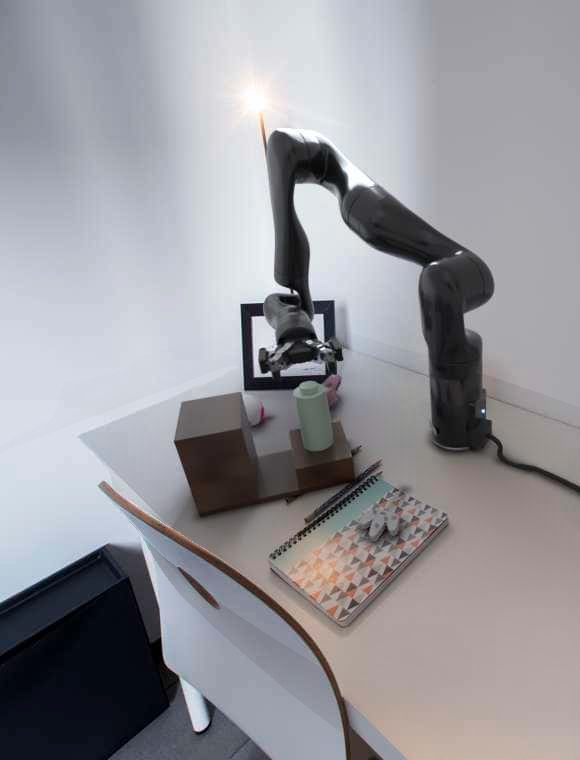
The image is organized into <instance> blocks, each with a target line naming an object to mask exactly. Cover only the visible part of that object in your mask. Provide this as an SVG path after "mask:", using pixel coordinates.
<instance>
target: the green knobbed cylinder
mask: <svg viewBox="0 0 580 760" xmlns="http://www.w3.org/2000/svg"><path fill="white" fill-rule="evenodd" d="M321 384H322V383H318V382H317V381H316V380H315V381H314V380H307V381H303V382H301V383H300V384H299V386H297V387H295V389H293V393H292V395H293V399H294V404H295V408H296V409H295V410H296V414H297V419H298V424H299V429H300V430H301V435H302V440H303V445H304V447H305V449H307V450H309V451H322V450H325V449H327V448H329V447H330V446H332V444H333V443H334V437H333V431H332V425H331V422H332V420H331V414H330V413H331V412H330V408H329V407H328V401H327V395H326V389H325V387H324V386H323V385H321Z"/></svg>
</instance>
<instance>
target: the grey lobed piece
mask: <svg viewBox="0 0 580 760" xmlns="http://www.w3.org/2000/svg"><path fill="white" fill-rule="evenodd" d="M404 490H405V488H404V487H402V488H401V489H400V490H399V492H398V494H397V497H396V498H395V500H392V501H391V502H390V503H389V504H388V507H387V509H386V510H385V509H380V508H379V509H378V508H373V509H368V510H366V511H365V512H364V513H363V515H362V516H361V518H359V525H360V527H361V529H362V530H367V529H368V528H369V532H368V535H369V538H370V539H369V540H370V541H371V542H372V543H373V542H376V541H378V540H379V538H380V537H381V535H382V534H383V532H384V531H385V530H386V527H387V530H388V533H389V535H390V536H397V534H398V532H399V528H400V518H399V516H398V515H397V514H396V513H394V512H392V511H390V510H389V508H390V506H391V505H392V504H393V503H395V502H396V501H397V500H398V498H399V496H400V494H401V491H404Z"/></svg>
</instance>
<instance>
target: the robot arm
mask: <svg viewBox="0 0 580 760" xmlns="http://www.w3.org/2000/svg"><path fill="white" fill-rule="evenodd" d="M266 142H267V143H266V153H265V156H266V158H265V159H266V170H267V181H268V189H269V198H270V205H271V212H272V213H271V214H272V221H273V229H274V254H273V255H274V257H273V279H274V281H275V283H276V284H277V285H278V286H281V287H283V288H286V289H289V290H292V291H294V292H296V293H288V292H287V293H286V292H285V293H283V292H272V293H270V294H268V295H267V296H266V297H265V299H264V301H263V305H262V310H263V311H262V312H263V315H264V316H263V317H264V318H265V321H266V323H267V324H268V325H269V326H270V327H271V328H272V329H273V330H274V336H275V343H276V347H275V348H274V350H269V349H267V348H266V347H260V348H258V357H257V361H258V366H259V370H260V374H261V375H266V374H268V373H269V372H270V373H271V378H272V379H273V380H276V381H277V382H282V381H283V380H282V373H281V371H287V370H288V369H290V368H291V367H292V366H294V365H300V364H305V363H311V362H312V363H314V364H317V365H322V364H326V368H327V371H328V373H329V374H330V373H331V374H332V373H334V370H337V363H336V362H343V361H344V355H343V354H344V353H343V346H342V345H341V343H340V342H339V340H338V338H337V337H336V336H331V337H329V340H327V341H326V342H322V341H321V340H319V338H318V335H317V332H316V330H315V327H314V325H313V323H312V322H313V321H314V318H315V306H314V302H313V299H312V295H311V289H310V262H311V245H310V241H309V238H308V235H307V233H306V231H305V229H304V226H303V225H302V222H301V220H300V218H299V216H298V213H297V211H296V206H295V188H296V185H317V186H320V187H322V188H324V189H325V190H327V191H328V192H329V193H331V194H332V195H333V196H334V197H335V198H336V200H337V206H338V211H339V214H340V217H341V220H342V221H343V223H344V225H345V226H346V227H347V228H348V229H349V230H350V231H351V232H352V233H353V234H354V235H355V236H357V237H358V238H359V239H360V240H361V241H362V242H363V243H365V244H366V245H367V246H369V247H370V248H372V249H374V250H376V251H378V252H380V253H383V254H384V255H387V256H391V257H394V258H397V259H400V260H402V261H406V262H409V263H412V264H414V265H417V266H419V267H421V268H422V269H421V271H420V272H419V276H418V280H417V281H418V283H417V297H418V305H419V313H420V325H421V332H422V336H423V339H424V342H425V344H426V347H427V359H428V361H427V362H428V379H429V381H428V382H429V397H430V416H431V417H430V418H431V420H429V421H428V422H429V427H430V429H431V441H432V442H433V444H434V445H435V446H436V447H438V448H439V449H442V450H444V451H449V452H465V451H477V449H483V450H484V449H485V448H486V445H487V444H488V442H489V441H492V442H493V443H494V444H495V445H496V446H497V450H496V455H497V457H498V459H499V460H500V461H501V462H502V463H503V464H505V465H506V466H508V467H509V466H510V467H513V468H516V469H520V470H525V471H530V472H531V471H532V472H534V473H537V474H539V475H541V476H545V477H546V478H548V479H551V480H553V481H555V482H557V483H559V484H560V485H561V484H562V485H564V486H566V487H568V488H570V489H572V490H574V491H575V492H577V493H579V494H580V485H578V484H576V483H573V482H572V481H569V480H568V479H566V478H563V477H561V476H559V475H557V474H555V473H553V472H551V471H548V470H546V469H544V468H542V467H538V466H536V465H532V464H526V463H518V462H514V461H511V460H509V459H508V458H506V457H505V456H504V454H503V452H504V451H503V450H504V445H503V443H502V442H501V440H500V439H499V438H498V437H497V436H495V435H494V434H493V420H492V419H487V389H486V388H483V359H484V358H483V357H484V355H483V349H484V348H483V346H484V345H483V344H484V343H483V338H482V336H481V335H480V334H479V333H478V332H477V331H475V330H472V329H470V328H466V327H465V314H467V313H470V312H473V311H475V310H477V309H479V308H481V307H483V306H484V305H486V304H487V303H488V302H489V301H490V300H491V299H492V297H493V295H494V294H495V279H494V276H493V273H492V271H491V269H490V267H489V265H487V263H486V262H485V261H484V260H483V259H482V258H481V257H480V256H479V255H478V254H476V253H475V252H473V251H471V250H470V249H469V248H468V247H465V246H463V245H462V244H460V243H459V242H457V241H455V240H454V239H452V238H450V237H448V236H447V235H445V234H444V233H442V232H440V231H439V230H438V229H436V228H435V227H434V226H432V225H431V224H430V223H428V222H427V221H426V220H424V219H423V218H422V217H420V216H419V215H418V214H417V213H415V212H414V211H412V210H411V209H410V208H409V207H408V206H406V205H405V204H404V203H403V202H401V200H399V199H398V198H397V197H396V196H394V195H393V194H392V193H391V192H389V191H388V190H387V189H385V187H384V186H381V185H380V184H379V183H377V182H376V181H375V180H373V179H372V178H371V177H369V176H368V175H367V174H366V173H365V172H363V171H362V170H361V169H359V168H358V167H357V166H356V165H354V164H353V163H352V161H350V160H348V158H347V157H346V156H345V155H344V154H343V153H342V152H341V151H340V150H339V148H338V147H336V146H335V144H333V143H332V142H331V141H330V140H329V139H328V138H327V137H326V136H324V135H323V134H321V133H320V132H317V131H314V130H310V129H296V128H277V129H275V130H273V131H272V132H271V133H270V135H269V137H268V139H267V141H266Z"/></svg>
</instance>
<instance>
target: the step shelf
mask: <svg viewBox="0 0 580 760" xmlns="http://www.w3.org/2000/svg"><path fill="white" fill-rule="evenodd" d="M242 395H243V394H242V391H237V392H236V391H235V392H231V393H225V394H219V395H213V396H208V397H201V398H195V399H190V400H184V401H181V402H180V407H179V412H178V416H177V417H178V418H177V423H176V428H175V432H174V437H173V444H174V446H175V450H176V453H177V455H178V458H179V461H180V464H181V467H182V470H183V472H184V476H185V478H186V481H187V484H188V487H189V490H190V493H191V495H192V496H191V497H192V499H193V501H194V505H195V507H196V510H197V513H198V517H199V518H204V517H208V516H212V515H215V514H216V515H217V514H221V513H225V512H230V511H234V510H238V509H242V508H247V507H251V506H256V505H259V504H263V503H268V502H272V501H273V502H274V501H277V500H281V499H285V498H291V497H294V496H297V495H298V496H299V495H303V494H308V493H311V492H316V491H321V490H325V489H329V488H334V487H337V486H343V485H346V484H350V483H356V481H357V478H356V472H355V465H354V458H353V454H352V452H351V448H350V445H349V442H348V439H347V437H346V433H345V430H344V427H343V424H342V420H336V421H331V425H332V431H333V437H334V443H333V444H332V446H330V447H329V448H327V449H325V450H322V451H309V450H307V449H305V447H304V445H303V440H302V435H301V430H300V428H295V429H292V430H291V429H289V431H288V433H289V434H288V435H289V441H290V444H291V445H290V446H291V449H289V450H283V451H279V452H274V453H269V454H264V455H260V456H258V452H257V449H256V445H255V444H256V443H255V440H254V436H253V433H252V429H251V426H250V424H249V420H248V417H247V413H246V409H245V405H244V401H243V397H242Z"/></svg>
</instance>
